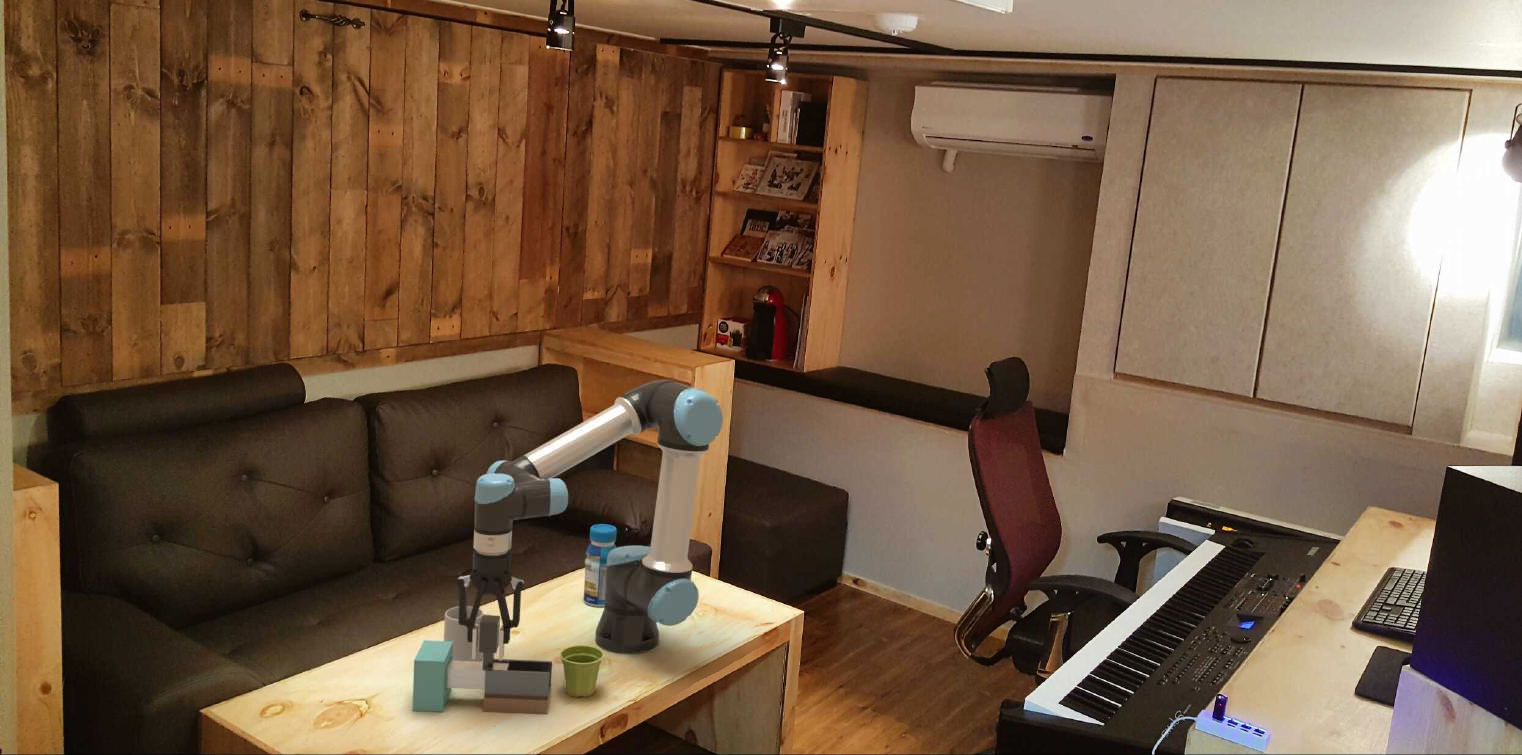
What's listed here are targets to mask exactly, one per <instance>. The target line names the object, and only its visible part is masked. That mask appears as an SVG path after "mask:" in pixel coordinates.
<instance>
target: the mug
mask: <svg viewBox="0 0 1522 755" xmlns="http://www.w3.org/2000/svg"><path fill="white" fill-rule="evenodd" d="M472 609H473V606H468V605H467V618H470V615H471V612H472ZM483 615H491V614H489V613H484V611H483V610H482V609H481V608H479V611H478V614H477V617H476V621H475V624H479V629H478V654H477V656H476V659H472V642H468V641H467V632H468V628H467V627H466V626H465V625H460V624H459V606H454V607H451V608H449V609H447V610H446V611H445V613H444V629H443V633H444V634H443V641H451V642H453V659H452V660H455V661H478V662H482V660H483V652H479V638H480V622H481V619H482V617H483Z"/></svg>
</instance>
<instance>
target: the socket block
mask: <svg viewBox="0 0 1522 755" xmlns="http://www.w3.org/2000/svg"><path fill="white" fill-rule="evenodd" d="M452 659H453V642H451V641H444V640H427V639H424V640H423V642H422V643H421V646H420V648H419V649H418V651H417V654H416V655H415V658H414V660H413V681H412V682H413V683H412V685H413V686H412V688H413V689H412V690H413V691H412V711H413V712H429V711H433V712H434V711H443V712H444V710H445V706H446V705H447V702H448V700H447V699H449V698H450V697H449V696H450V695H451V693H452V688H445V684H446V667H447V664H448V662H449V660H452ZM445 704H446V705H445ZM443 709H444V710H443ZM433 712H432V713H433ZM434 713H435V712H434Z"/></svg>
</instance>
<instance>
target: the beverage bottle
mask: <svg viewBox="0 0 1522 755" xmlns="http://www.w3.org/2000/svg"><path fill="white" fill-rule="evenodd" d="M617 534H618V530H617V527H616V526H614V525H611V524H607V523H606V524H605V523H604V524H603V523H599V524H593V525H592V526H591V527H590V530H589V540H590V541H591V542H590V543H589V544H588V547H587V548H586V551H585V555H586V558H585V560H584V567H585V568H584V570H585V571H584V588H583V589H584V590H583V602H584V603H585V604H586V605H587V606H591V607H597V608H604V607H605V588H606V570H607V566H606V564H607V558H608V554H609V552H610V551H612V550H613V549H615V548H618V547H617V546H616V544H615V542H616V540H617Z"/></svg>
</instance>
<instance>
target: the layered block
mask: <svg viewBox="0 0 1522 755" xmlns="http://www.w3.org/2000/svg"><path fill="white" fill-rule="evenodd" d="M494 662H500V663H509V670H487V669H486V670H485V690H484V692H483V693H484V694H483V700H482V702H483V704H482V707H483V708H482V712H489V713H490V712H492V713H513V714H515V713H516V714H517V713H518V714H535V715H537V714H538V715H547V714H548V711H549V706H550V701H551V697H552V695H551V694H552V669H553V661H552V660H534V659H533V660H532V659H531V660H530V659H513V658H509V659H507V658H503V659H502V660H499V658H494Z"/></svg>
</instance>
